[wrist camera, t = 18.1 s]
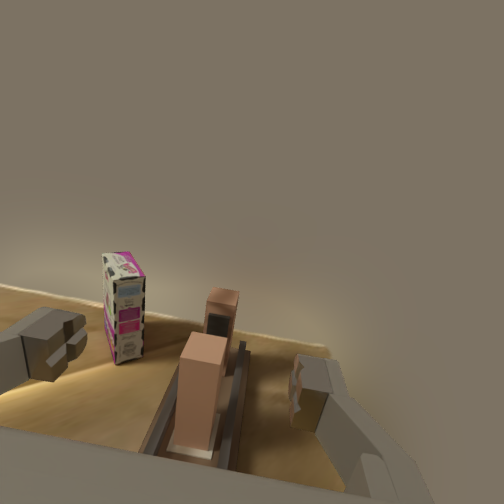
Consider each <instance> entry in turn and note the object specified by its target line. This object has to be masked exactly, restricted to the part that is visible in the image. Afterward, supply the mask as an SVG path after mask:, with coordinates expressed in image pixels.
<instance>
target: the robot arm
mask: <svg viewBox="0 0 504 504" xmlns="http://www.w3.org/2000/svg"><path fill="white" fill-rule="evenodd" d="M85 325H86V318H85V316H84V315H82V314H79V313H74V312H69V311H64V310H59V309H53V308H49V307H41V308H38V309H37V310H35V311H34V312H32V313H31V314H29V315H28V316H26V317H24V318H23V319H21V320H20V321H18V322H17V323H15V324H14V325H12V326H10V327H9V328H7V329H6V330H4V331H3V332H0V395H1V394H3V393H5V392H7V391H9V390H11V389H13V388H15V387H16V386H18V385H20V384H22V383H24V382H26V381H28V380H29V379H35V380H41V381H48V382H54V381H55V380H56V379H57V378H58V377H59V376H60V375H61V374H62V373H63V372H64V371H65V370H66V369H67V368H68V362H70V361H72V360H75V359H77V358H78V357H79V356H80V354H81V353H82V352H83V350H84V348H85V346H86V343H87V333H86V331H85V330H84V329H83V327H84V326H85ZM288 394H289V399H290V401H291V405H290V409H289V412H290V427H291V428H295V429H300V430H304V431H309V432H313V433H315V435H316V437H317V439H318V440H319V442H320V444H321V445H322V447H323V449H324V450H325V452H326V454H327V455H328V457H329V459H330V460H331V462H332V464H333V465H334V467H335V469H336V470H337V472H338V474H339V475H340V477H341V479H342V480H343V482H344V484H345V485H346V488H345V491H344V493H343V492H338V491H333V490H328V489H322V488H317V487H312V486H307V485H302V484H297V483H292V482H287V481H281V480H276V479H271V478H266V477H261V476H256V475H251V474H246V473H240V472H235V471H230V470H225V469H220V468H215V467H209V466H204V465H199V464H194V463H189V462H184V461H178V460H173V459H168V458H163V457H158V456H153V455H147V454H142V453H137V452H132V451H127V450H122V449H117V448H112V447H107V446H101V445H96V444H91V443H86V442H81V441H76V440H71V439H66V438H60V437H55V436H50V435H45V434H40V433H35V432H30V431H25V430H19V429H14V428H9V427H4V426H0V504H434V501H433V499H432V497H431V495H430V493H429V490H428V488H427V486H426V484H425V482H424V479H423V477H422V475H421V473H420V471H419V469H418V466H417V464H416V462H415V461H414V460H413V459H412V458H411V457H410V456H409V455H408V454H407V453H406V451H404V450H403V448H402V447H401V446H400V445H399V444H398V443H397V442H396V441H395V440H394V439H393V438H392V437H391V436H390V435H389V434H388V433H387V432H386V431H385V430H384V429H383V428H382V427H381V426H380V425H379V424H378V423H377V422H376V421H375V419H374V418H373V417H372V416H371V415H370V414H369V413H368V412H367V411H366V410H365V409H364V408H363V407H362V406H361V405H360V404H359V403H358V402H357V401H356V400H355V399H354V398H350V397H349V394H348V391H347V387H346V384H345V381H344V378H343V375H342V372H341V368H340V365H339V362H338V361H337V360H332V359H326V358H318V357H312V356H307V355H301V354H296V356H295V360H294V370H292V371H291V375H290V379H289V390H288Z"/></svg>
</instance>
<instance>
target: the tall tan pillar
mask: <svg viewBox="0 0 504 504" xmlns="http://www.w3.org/2000/svg"><path fill="white" fill-rule="evenodd" d="M226 345H227V338H225V337H219V336H214V335H209V334H204V333H198V332H193V331H192V333H191V335H190V337H189V339H188V341H187V343H186V345H185V348H184V350H183V352H182V354H181V356H180V363H179V376H178V389H177V403H176V416H175V429H174V442H173V444H175V445H180V446H185V447H190V448H195V449H200V450H205V451H208V448H209V443H210V439H211V435H212V430H213V426H214V422H215V417H216V411H217V404H218V397H219V391H220V384H221V378H222V371H223V365H224V358H225V351H226Z"/></svg>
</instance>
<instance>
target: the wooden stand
mask: <svg viewBox="0 0 504 504" xmlns="http://www.w3.org/2000/svg"><path fill="white" fill-rule="evenodd" d="M238 297H239V291H233V290H228V289H222V288H216V287H213V288H212V290H211V293H210V295H209V297H208V299H207V303H206V313H205V321H204V330H203V333H204V334H209V335H214V336H219V337H225V338H227V345H226V351H225V358H224V365H223V371H222V378H221V384H220V391H219V397H218V404H217V411H216V417H215V422H214V426H213V430H212V435H211V439H210V443H209V448H208V451H205V450H200V449H195V448H190V447H185V446H180V445H175V444H173V442H174V429H175V416H176V403H177V389H178V376H179V364H178V366H177V368H176V371H175V373H174V375H173V377H172V379H171V381H170V384H169V386H168V388H167V390H166V392H165V395H164V397H163V399H162V401H161V403H160V406H159V408H158V410H157V412H156V414H155V416H154V419H153V421H152V423H151V425H150V427H149V430H148V432H147V434H146V436H145V438H144V440H143V443H142V445H141V447H140V449H139V451H138V453H142V454H147V455H153V456H158V457H163V458H168V459H173V460H178V461H184V462H189V463H194V464H199V465H204V466H209V467H215V468H220V469H225V470H230V471H235V472H236V466H237V457H238V449H239V441H240V433H241V425H242V417H243V409H244V400H245V392H246V384H247V376H248V368H249V360H250V352H251V351H247V350H245V348H246V342H245V341H240V345H239V349H236V348H231V341H232V335H233V329H234V322H235V316H236V310H237V304H238ZM179 363H180V362H179Z"/></svg>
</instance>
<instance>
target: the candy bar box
mask: <svg viewBox="0 0 504 504" xmlns="http://www.w3.org/2000/svg"><path fill="white" fill-rule="evenodd" d="M102 259H103V260H102V262H103V292H104V319H105V331H106V334H107V338H108V341H109V345H110V349H111V352H112V356H113V360H114V363H115V365H118V364H121V363H124V362H128V361H132V360H135V359H139V358H141V357H143V352H144V313H145V279H146V276H145V275H144V273H143V272H142V270H141V269H140V267H139V266H138V264H137V262H136V261H135V259H134V258H133V256H132V255H131V253H130V252H114V253H103V254H102Z"/></svg>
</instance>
